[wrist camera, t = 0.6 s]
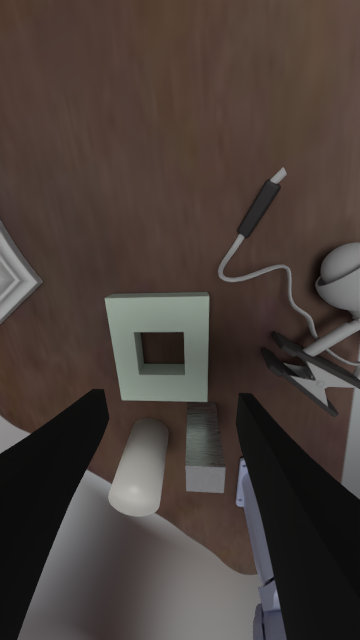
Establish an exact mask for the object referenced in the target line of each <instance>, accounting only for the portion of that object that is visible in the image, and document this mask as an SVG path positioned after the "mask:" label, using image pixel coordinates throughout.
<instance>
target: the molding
mask: <svg viewBox="0 0 360 640" xmlns="http://www.w3.org/2000/svg"><path fill="white" fill-rule="evenodd" d="M42 283H43V281H42V280H41V279H40V277H39V276H38V275H37V274H36V272H35V271H34V270H33V269H32V268H31V266H30V265H29V264H28V262H27V261H26V259H25V258H24V257H23V255H22V254H21V253H20V251H19V250H18V248H17V246H16V245H15V243H14V242H13V240H12V239H11V237H10V235H9V234H8V232H7V230H6V229H5V227H4V225H3V223H2V221H1V220H0V324H1V323H2V322H3V321H4V320H5V319H6V318H7V317H8V316H9V315H10V314H11V313H12V312H13V311H14V310H15V309H16V308H17V307H18V306H19V305H20V304H21V303H22V302H23V301H24V300H25V299H26V298H27V297H28V296H29V295H31V294H32V293H33V292H34V291H35V290H36V289H37V288H38V287H39V286H40V285H41V284H42Z"/></svg>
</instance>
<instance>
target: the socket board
mask: <svg viewBox="0 0 360 640" xmlns="http://www.w3.org/2000/svg"><path fill="white" fill-rule="evenodd" d="M105 303H106V309H107V315H108V321H109V327H110V333H111V339H112V345H113V350H114V356H115V362H116V368H117V374H118V380H119V386H120V392H121V397H122V400H142V401H188V402H207V390H208V338H209V294H208V292H179V293H131V294H113V295H111V296H108V297H106V298H105ZM141 332H184V353H185V364H144V359H143V350H142V341H141Z"/></svg>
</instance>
